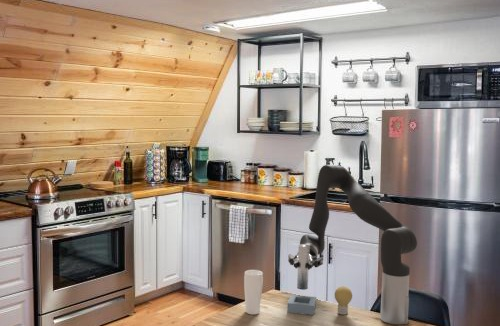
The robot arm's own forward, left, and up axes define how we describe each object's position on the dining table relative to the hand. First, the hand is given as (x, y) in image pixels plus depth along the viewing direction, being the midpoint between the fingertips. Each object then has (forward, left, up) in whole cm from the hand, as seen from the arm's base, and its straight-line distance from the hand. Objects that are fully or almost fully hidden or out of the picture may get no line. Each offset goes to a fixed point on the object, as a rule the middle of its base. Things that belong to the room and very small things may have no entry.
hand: (302, 266), depth 190 cm
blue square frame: (0, -3, -17) cm, 17 cm away
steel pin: (0, -3, -9) cm, 9 cm away
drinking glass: (+17, +6, -17) cm, 25 cm away
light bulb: (-15, -3, -17) cm, 23 cm away
